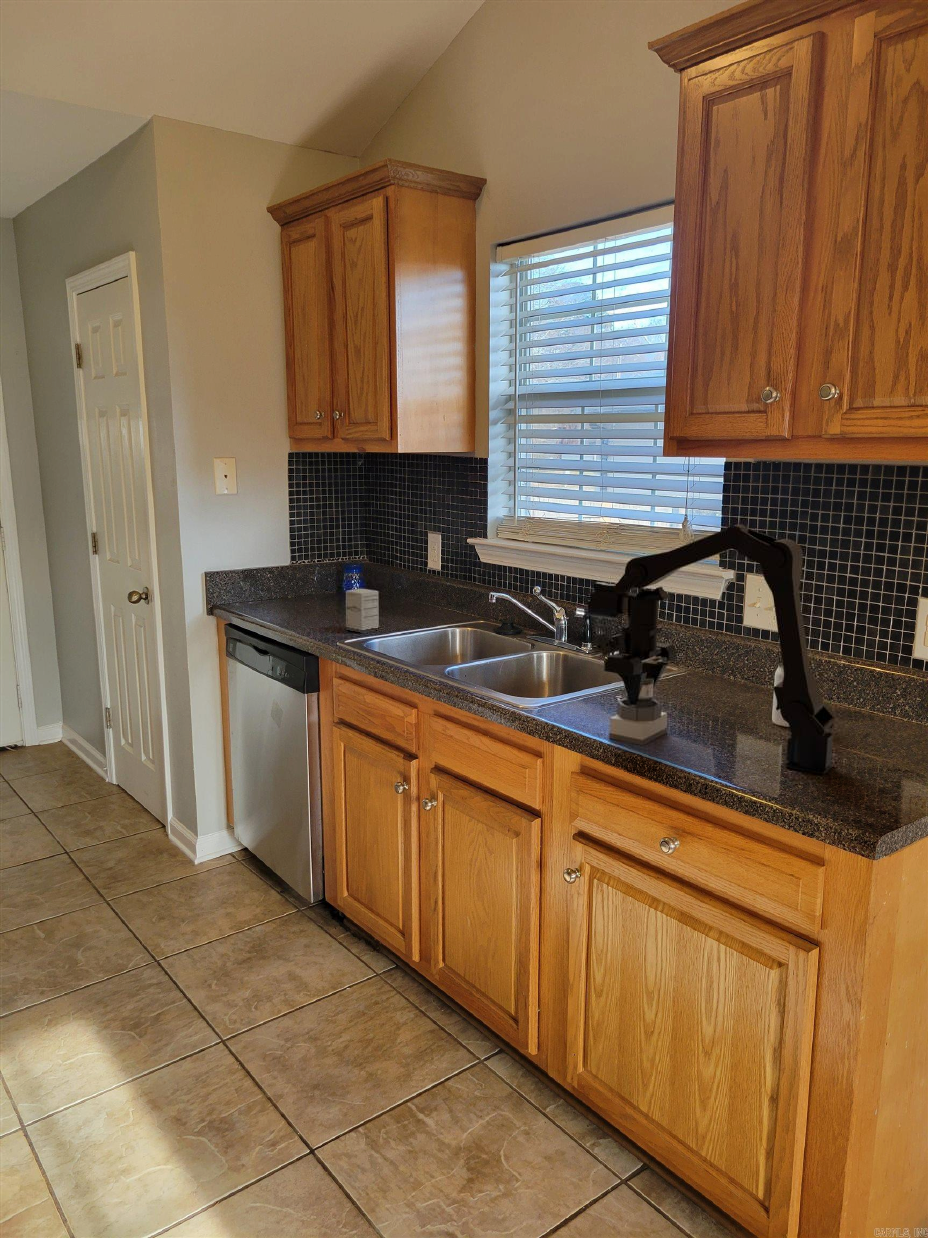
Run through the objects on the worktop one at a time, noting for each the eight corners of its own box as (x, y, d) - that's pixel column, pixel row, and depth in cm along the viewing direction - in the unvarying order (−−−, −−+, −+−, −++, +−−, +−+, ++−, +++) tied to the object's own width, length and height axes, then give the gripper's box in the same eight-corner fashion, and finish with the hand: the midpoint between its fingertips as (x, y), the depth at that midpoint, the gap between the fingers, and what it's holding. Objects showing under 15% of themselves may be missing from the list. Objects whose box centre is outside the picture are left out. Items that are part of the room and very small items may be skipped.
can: (778, 717, 190) (782, 660, 187) (810, 723, 186) (814, 665, 183) (766, 724, 185) (770, 666, 183) (798, 730, 181) (803, 671, 178)
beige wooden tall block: (345, 631, 279) (344, 590, 277) (363, 627, 285) (362, 587, 283) (361, 634, 275) (361, 593, 273) (379, 631, 280) (379, 590, 278)
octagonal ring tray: (668, 733, 178) (669, 700, 177) (643, 745, 171) (645, 712, 169) (632, 725, 183) (633, 694, 182) (607, 737, 175) (608, 704, 174)
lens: (657, 707, 176) (658, 676, 175) (644, 712, 172) (646, 682, 171) (633, 702, 179) (634, 672, 178) (620, 708, 175) (621, 677, 174)
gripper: (628, 611, 185) (625, 685, 188) (580, 624, 171) (578, 704, 173) (679, 617, 178) (675, 694, 181) (633, 631, 164) (630, 715, 167)
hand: (639, 701), depth 176 cm, fingers closed on lens, 5 cm apart
